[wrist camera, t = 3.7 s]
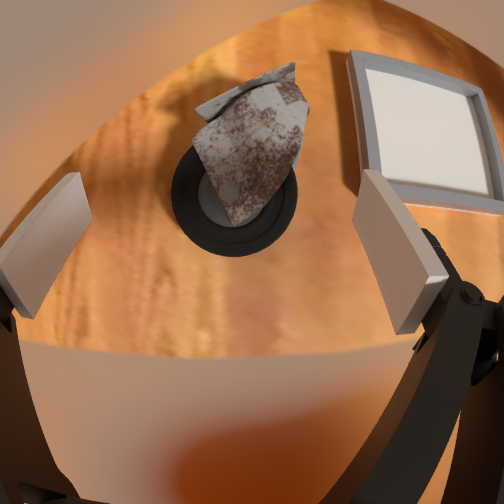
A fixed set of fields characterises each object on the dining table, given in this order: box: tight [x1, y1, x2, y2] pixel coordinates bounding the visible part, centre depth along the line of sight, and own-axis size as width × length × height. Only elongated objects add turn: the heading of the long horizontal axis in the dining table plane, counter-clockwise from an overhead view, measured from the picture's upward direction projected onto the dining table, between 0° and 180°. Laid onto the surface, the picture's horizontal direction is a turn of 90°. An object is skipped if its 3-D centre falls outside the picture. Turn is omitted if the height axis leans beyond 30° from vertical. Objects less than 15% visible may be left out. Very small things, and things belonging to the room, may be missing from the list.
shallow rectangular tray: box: [346, 49, 504, 216], centre depth 21 cm, size 16×14×2 cm
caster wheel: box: [171, 62, 310, 257], centre depth 19 cm, size 7×11×10 cm
